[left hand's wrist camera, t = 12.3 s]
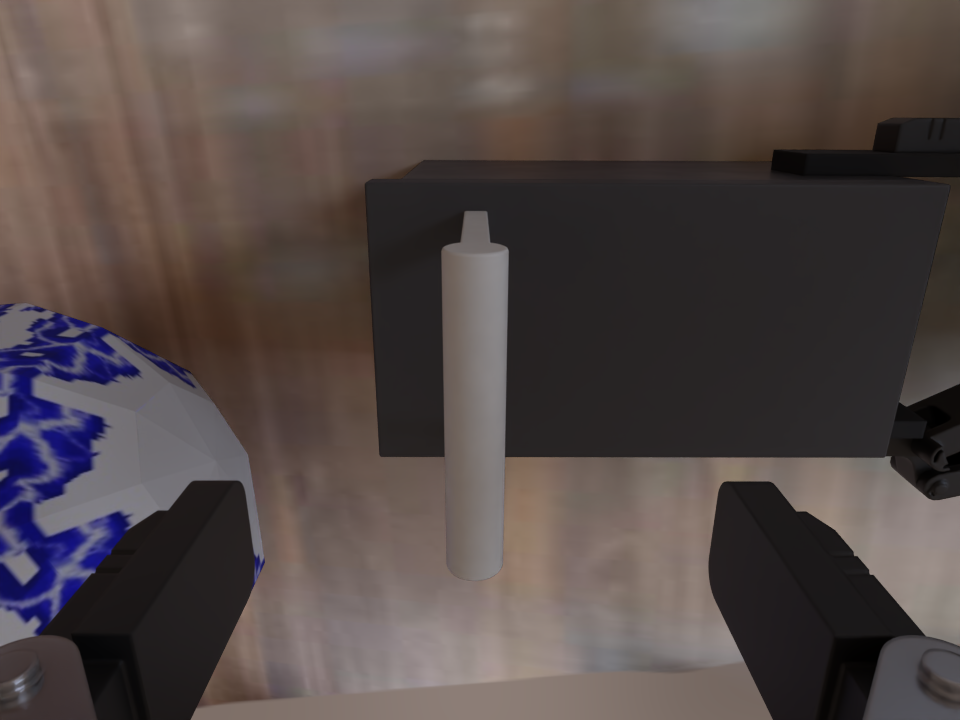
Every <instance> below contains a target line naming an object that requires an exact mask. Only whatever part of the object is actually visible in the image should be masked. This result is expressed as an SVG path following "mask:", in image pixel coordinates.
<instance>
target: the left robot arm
mask: <svg viewBox="0 0 960 720" xmlns="http://www.w3.org/2000/svg"><path fill="white" fill-rule="evenodd" d="M254 573H255V558H254V550H253V543H252V536H251V528H250V521H249V514H248V507H247V500H246V493H245V489H244V486H243V484H242V483H241V482H240V481H238V480H195V481H192V482H190V484H189V485H188V486H187V487H186V488H185V490H184V491H183V492H182V493H181V495H180V496H179V497H178V498H177V500H176V501H175V502H174V503H173V505H172V506H171V507H170V509H169V510H157V511H156V512H154V513H153V514H151V515H150V516H148V517H147V518H145V519H144V520H142V521H141V522H139V523H137V524H136V525H134V526H133V527H131V528H130V529H129V530H128V531H127V532H126V533H125V535H124V536H123V537H122V538H121V539H120V540H119V542H118V543H117V544H116V545H115V546H114V547H113V549H112V550H111V555H107V556H106V557H105V558H104V559H103V560H102V562H101V563H100V564H99V565H98V566H97V568H96V572H95V573H91V575H90V576H89V577H88V578H87V579H86V580H85V582H84V583H83V584H82V585H81V586H80V588H79V589H78V590H77V591H76V592H75V593H74V595H73V596H72V597H71V598H70V599H69V600H68V602H67V603H66V604H65V605H64V606H63V608H62V609H61V610H60V611H59V612H58V613H57V615H56V616H55V617H54V618H53V619H52V621H51V622H50V623H49V624H48V625H47V626H46V628H45V629H44V630H43V631H42V632H41V633H40V635H39V636H34V637H28V638H24V639H20V640H17V641H13V642H10V643H7V644H5V645H3V646H0V720H191V718H192V716H193V713H194V711H195V709H196V707H197V705H198V703H199V701H200V699H201V697H202V695H203V693H204V691H205V688H206V686H207V684H208V682H209V680H210V678H211V676H212V674H213V672H214V670H215V668H216V665H217V663H218V661H219V659H220V657H221V655H222V653H223V651H224V649H225V647H226V645H227V643H228V640H229V638H230V636H231V634H232V632H233V630H234V628H235V626H236V624H237V622H238V620H239V618H240V615H241V613H242V611H243V609H244V607H245V605H246V603H247V601H248V599H249V596H250V594H251V590H252V586H253V581H254ZM709 580H710V586H711V590H712V593H713V596H714V599H715V601H716V603H717V605H718V607H719V609H720V611H721V613H722V616H723V618H724V620H725V622H726V624H727V626H728V628H729V630H730V632H731V634H732V636H733V638H734V640H735V642H736V644H737V646H738V649H739V651H740V653H741V655H742V657H743V659H744V661H745V663H746V665H747V667H748V669H749V671H750V673H751V675H752V677H753V679H754V681H755V684H756V686H757V688H758V690H759V692H760V694H761V696H762V698H763V700H764V702H765V704H766V706H767V708H768V710H769V712H770V714H771V716H772V719H773V720H960V646H957V645H955V644H953V643H950V642H947V641H943V640H940V639H936V638H932V637H926V636H925V635H924V633H923V632H922V631H921V630H920V629H919V628H918V626H917V625H916V624H915V623H914V622H913V621H912V619H911V618H910V617H909V616H908V615H907V614H906V612H905V611H904V610H903V609H902V608H901V607H900V605H899V604H898V603H897V602H896V601H895V600H894V598H893V597H892V596H891V595H890V594H889V593H888V591H887V590H886V589H885V588H884V587H883V586H882V584H881V583H880V582H879V581H878V580H877V579H876V577H875V576H874V575H870V574H869V569H868V568H867V567H866V566H865V565H864V563H863V562H862V561H861V560H860V559H859V558H858V556H854V552H853V551H852V549H851V548H850V547H849V546H848V545H847V544H846V542H845V541H844V540H843V539H842V538H841V537H840V535H839V534H838V533H837V532H836V531H835V530H834V529H832V528H831V527H829V526H828V525H826V524H825V523H823V522H822V521H820V520H819V519H817V518H815V517H814V516H812V515H811V514H809V513H808V512H796V511H795V509H794V508H793V507H792V506H791V504H790V503H789V502H788V501H787V499H786V498H785V497H784V496H783V494H782V493H781V492H780V491H779V489H778V488H777V487H776V486H775V485H774V484H773V483H772V482H724V483H722V485H721V487H720V489H719V492H718V498H717V505H716V512H715V519H714V526H713V533H712V540H711V548H710V555H709Z"/></svg>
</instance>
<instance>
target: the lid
mask: <svg viewBox="0 0 960 720" xmlns="http://www.w3.org/2000/svg"><path fill="white" fill-rule="evenodd" d="M949 192H950V185H949V184H943V183H936V182H930V181H788V180H502V179H372V180H370V181H368V182H366V183H365V198H366V217H367V235H368V253H369V272H370V290H371V308H372V327H373V345H374V363H375V382H376V400H377V418H378V437H379V454H380V456H381V457H445V503H446V562H447V567H448V569H449V570H450V572H451V573H452V574H453V575H455V576H456V577H458V578H460V579H463V580H468V581H481V580H486V579H489V578H491V577H493V576H495V575H496V574H497V573H498V572H499V571H500V569H501V567H502V565H503V531H504V478H505V457H868V458H884V457H885V456H886V453H887V449H888V445H889V441H890V436H891V432H892V428H893V424H894V420H895V416H896V412H897V407H898V403H899V399H900V395H901V391H902V387H903V382H904V378H905V374H906V370H907V366H908V362H909V358H910V353H911V349H912V345H913V341H914V337H915V333H916V329H917V324H918V320H919V316H920V312H921V308H922V304H923V300H924V295H925V291H926V287H927V283H928V279H929V275H930V270H931V266H932V262H933V258H934V254H935V250H936V246H937V241H938V237H939V233H940V229H941V225H942V221H943V217H944V212H945V208H946V204H947V200H948V196H949Z"/></svg>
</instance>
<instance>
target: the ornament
mask: <svg viewBox="0 0 960 720" xmlns="http://www.w3.org/2000/svg"><path fill="white" fill-rule="evenodd" d="M195 480H238V481H240V482H241V483H242V484H243V486H244V489H245V493H246V500H247V507H248V514H249V521H250V528H251V536H252V543H253V550H254V558H255V573H254V581H253V586H252V589H253V587H254V584H255V582H256V580H257V578H258V576H259V574H260V572H261V570H262V567H263V565H264V563H265V560H264V553H263V547H262V540H261V533H260V526H259V520H258V513H257V507H256V501H255V494H254V488H253V482H252V476H251V470H250V464H249V458H248V454H247V452H246V451H245V449H244V448H243V446H242V445H241V443H240V442H239V440H238V439H237V437H236V436H235V434H234V433H233V431H232V430H231V428H230V427H229V425H228V424H227V422H226V420H225V419H224V417H223V416H222V414H221V413H220V411H219V410H218V408H217V407H216V405H215V404H214V402H213V401H212V400H211V398H210V397H209V396H208V395H207V393H206V392H205V391H204V389H203V388H202V387H201V385H200V384H199V383H198V381H197V380H196V379H195V378H194V376H193V375H192V374H191V372H190V371H188V370H186V369H184V368H182V367H180V366H178V365H176V364H174V363H172V362H170V361H168V360H166V359H164V358H162V357H160V356H158V355H156V354H154V353H152V352H150V351H148V350H146V349H144V348H142V347H140V346H138V345H136V344H134V343H132V342H130V341H128V340H126V339H124V338H122V337H120V336H118V335H116V334H114V333H112V332H110V331H108V330H106V329H104V328H102V327H99V326H96V325H93V324H89V323H86V322H83V321H80V320H77V319H74V318H71V317H68V316H65V315H62V314H59V313H56V312H53V311H50V310H46V309H43V308H40V307H37V306H34V305H31V304H28V303H17V304H5V305H0V646H3V645H5V644H7V643H10V642H13V641H17V640H20V639H24V638H28V637H34V636H39V635H40V633H41V632H42V631H43V630H44V629H45V628H46V626H47V625H48V624H49V623H50V622H51V621H52V619H53V618H54V617H55V616H56V615H57V613H58V612H59V611H60V610H61V609H62V608H63V606H64V605H65V604H66V603H67V602H68V600H69V599H70V598H71V597H72V596H73V595H74V593H75V592H76V591H77V590H78V589H79V588H80V586H81V585H82V584H83V583H84V582H85V580H86V579H87V578H88V577H89V576H90V575H91V573H95V572H96V568H97V566H98V565H99V564H100V563H101V562H102V560H103V559H104V558H105V557H106V556H107V555H111V550H112V549H113V547H114V546H115V545H116V544H117V543H118V542H119V540H120V539H121V538H122V537H123V536H124V535H125V533H126V532H127V531H128V530H129V529H130V528H131V527H133V526H134V525H136V524H137V523H139V522H141V521H142V520H144V519H145V518H147V517H148V516H150V515H151V514H153V513H154V512H156V511H157V510H169V509H170V507H171V506H172V505H173V503H174V502H175V501H176V500H177V498H178V497H179V496H180V495H181V493H182V492H183V491H184V490H185V488H186V487H187V486H188V485H189V484H190V482H192V481H195ZM251 591H252V590H251Z"/></svg>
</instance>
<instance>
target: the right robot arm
mask: <svg viewBox="0 0 960 720" xmlns="http://www.w3.org/2000/svg"><path fill="white" fill-rule="evenodd" d="M771 170H776V171H781V172H786V173H792V174H797V175H802V176H897V177H960V118H891V119H888V120H886V121H883V122H881V123H878V125H877V130H876V135H875V140H874V145H873V150H774V151H773V158H772V165H771ZM886 456H892V457H891V461H890V463H891V467H892V468H893V469H894V470H896V471H897V472H898V473H899V474H900V475H901V476H902V477H904V478H905V479H906V480H907V481H908V482H910V483H911V484H912V485H913V486H914V487H915V488H917V489H918V490H919V491H920V492H921V493H923V494H924V495H925V496H926V497H927V498H929V499H931V500H941V499H946V498H951V497H956V496H960V384H958V385H956V386H954V387H952V388H949V389H947V390H945V391H942V392H940V393H938V394H935V395H933V396H931V397H928V398H926V399H924V400H922V401H919V402H917V403H915V404H912V405H910V406H908V407H905V406H904V405H902V404H901V403H900V402H899V403H898V407H897V412H896V416H895V420H894V424H893V428H892V432H891V436H890V441H889V445H888V449H887V453H886Z"/></svg>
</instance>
